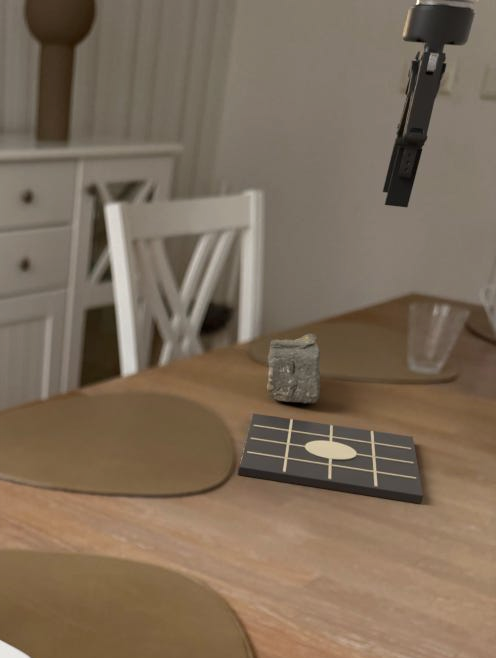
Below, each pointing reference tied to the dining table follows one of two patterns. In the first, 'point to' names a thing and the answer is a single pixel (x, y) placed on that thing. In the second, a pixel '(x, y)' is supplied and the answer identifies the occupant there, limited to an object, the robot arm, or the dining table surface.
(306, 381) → the rock
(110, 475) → the dining table surface
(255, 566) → the dining table surface
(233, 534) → the dining table surface
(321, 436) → the board
